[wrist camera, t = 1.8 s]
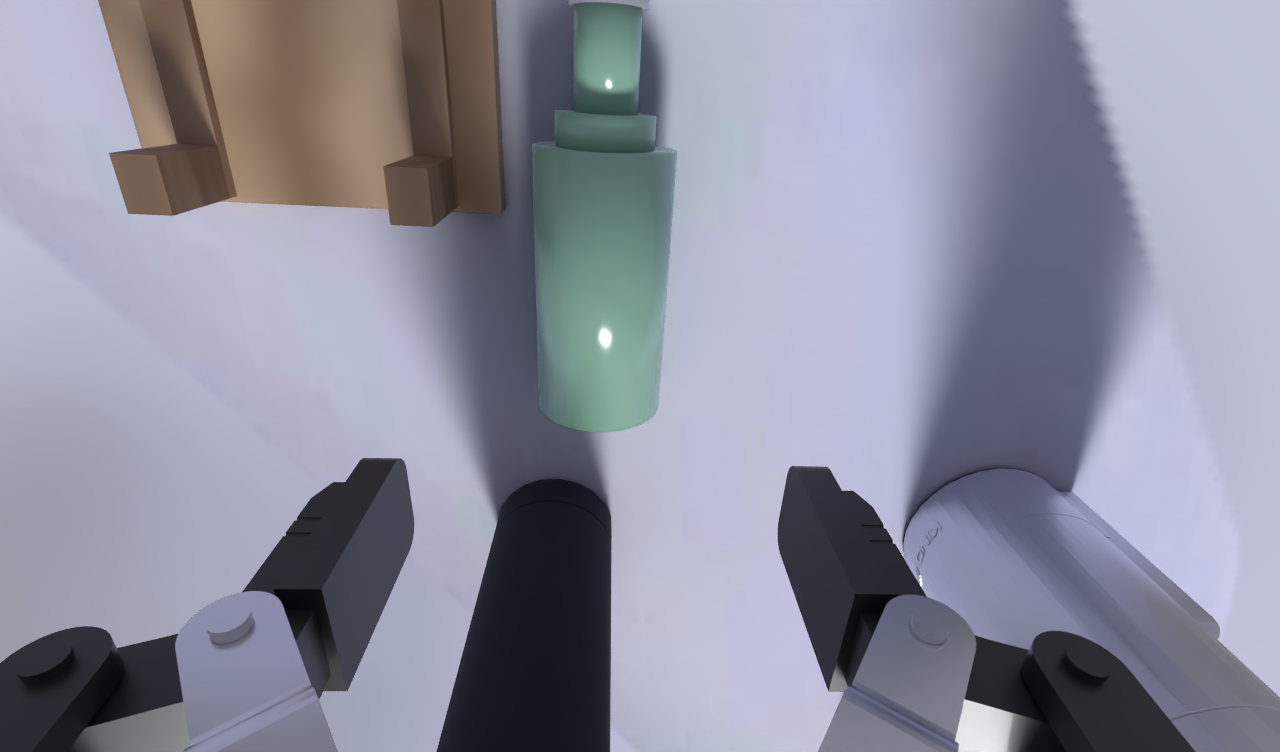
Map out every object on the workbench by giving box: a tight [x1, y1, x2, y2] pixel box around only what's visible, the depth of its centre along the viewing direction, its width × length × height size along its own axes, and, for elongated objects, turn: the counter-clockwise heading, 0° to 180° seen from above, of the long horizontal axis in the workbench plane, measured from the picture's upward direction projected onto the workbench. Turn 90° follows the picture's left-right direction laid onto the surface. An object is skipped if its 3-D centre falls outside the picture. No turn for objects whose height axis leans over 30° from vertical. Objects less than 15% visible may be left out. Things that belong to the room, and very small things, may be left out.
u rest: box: [98, 0, 505, 227], centre depth 21 cm, size 14×11×5 cm
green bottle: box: [532, 0, 677, 432], centre depth 24 cm, size 16×6×6 cm, turn 177°
